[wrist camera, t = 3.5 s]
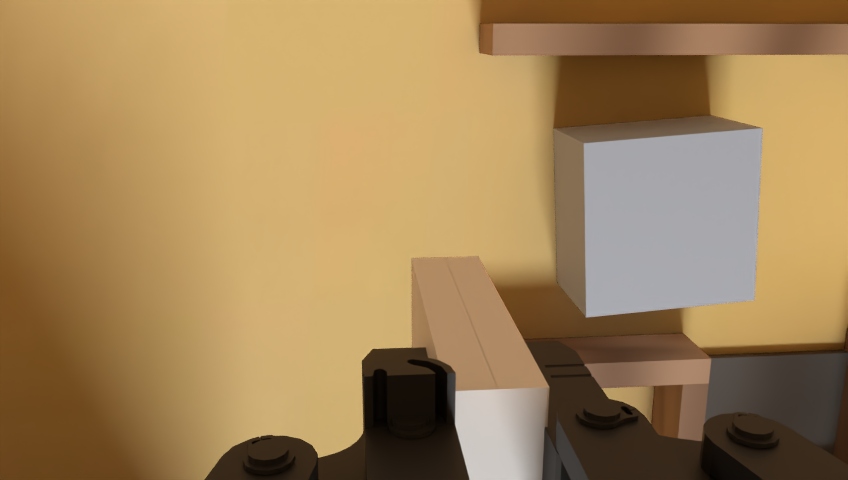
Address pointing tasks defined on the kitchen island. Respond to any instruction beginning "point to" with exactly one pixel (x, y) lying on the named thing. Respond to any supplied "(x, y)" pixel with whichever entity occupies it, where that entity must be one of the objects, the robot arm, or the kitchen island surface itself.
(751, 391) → the trap lane
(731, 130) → the gray block
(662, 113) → the kitchen island surface
